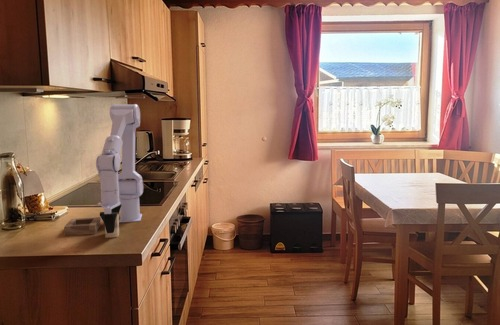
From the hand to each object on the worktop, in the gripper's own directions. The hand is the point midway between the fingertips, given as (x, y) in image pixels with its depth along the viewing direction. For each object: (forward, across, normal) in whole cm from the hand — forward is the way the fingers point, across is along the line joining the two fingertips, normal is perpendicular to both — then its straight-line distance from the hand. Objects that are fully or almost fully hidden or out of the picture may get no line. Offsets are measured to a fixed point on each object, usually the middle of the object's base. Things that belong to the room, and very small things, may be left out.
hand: (112, 229), depth 139 cm
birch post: (+2, 0, 0) cm, 2 cm away
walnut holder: (+2, -8, -11) cm, 14 cm away
